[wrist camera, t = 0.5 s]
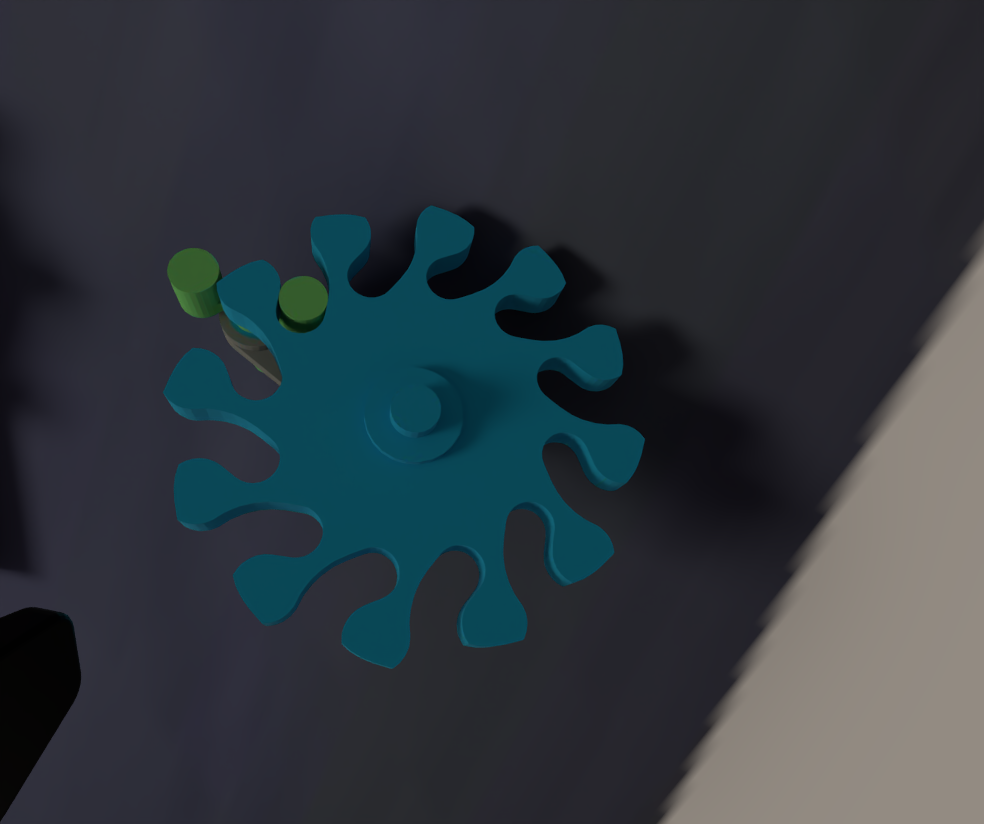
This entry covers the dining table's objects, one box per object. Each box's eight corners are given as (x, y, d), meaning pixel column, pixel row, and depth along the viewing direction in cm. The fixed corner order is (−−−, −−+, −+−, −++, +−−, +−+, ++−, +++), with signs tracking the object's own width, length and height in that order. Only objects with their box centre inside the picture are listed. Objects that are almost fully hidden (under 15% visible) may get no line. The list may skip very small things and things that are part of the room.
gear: (739, 384, 18) (455, 786, 15) (646, 452, 24) (425, 755, 21) (348, 79, 19) (-8, 399, 16) (346, 215, 25) (84, 472, 21)
